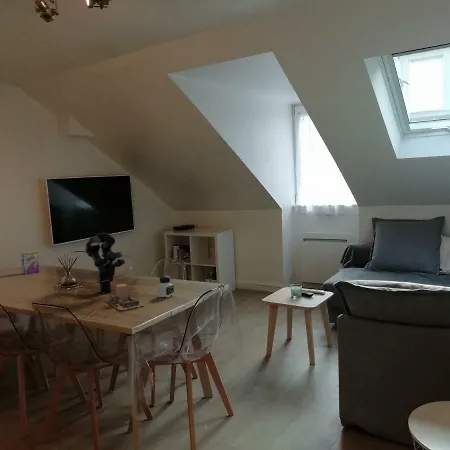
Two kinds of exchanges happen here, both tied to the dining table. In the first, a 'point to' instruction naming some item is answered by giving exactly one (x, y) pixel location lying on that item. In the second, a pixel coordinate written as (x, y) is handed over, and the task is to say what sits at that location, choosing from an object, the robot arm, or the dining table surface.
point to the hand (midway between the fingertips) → (113, 275)
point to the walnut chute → (115, 300)
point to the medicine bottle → (165, 286)
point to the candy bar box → (30, 262)
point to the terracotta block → (122, 292)
